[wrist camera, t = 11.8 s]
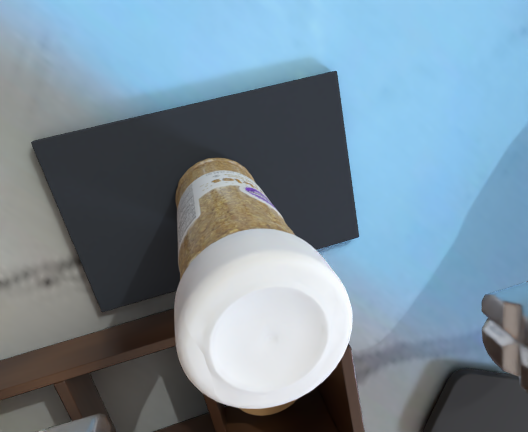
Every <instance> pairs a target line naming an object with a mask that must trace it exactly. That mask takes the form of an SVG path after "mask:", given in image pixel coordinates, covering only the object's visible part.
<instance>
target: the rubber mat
mask: <svg viewBox="0 0 528 432" xmlns="http://www.w3.org/2000/svg"><path fill="white" fill-rule="evenodd" d="M31 144H32V146H33V149H34V151H35V153H36V156H37V158H38V160H39V163H40V165H41V168H42V170H43V172H44V175H45V177H46V180H47V182H48V184H49V187H50V189H51V192H52V194H53V196H54V199H55V201H56V204H57V206H58V208H59V211H60V213H61V215H62V218H63V220H64V223H65V225H66V227H67V230H68V232H69V235H70V237H71V239H72V242H73V244H74V247H75V249H76V251H77V254H78V256H79V258H80V261H81V263H82V266H83V268H84V270H85V273H86V275H87V278H88V280H89V282H90V285H91V287H92V290H93V292H94V294H95V297H96V299H97V301H98V304H99V306H100V309H101V311H102V312H105V311H108V310H112V309H115V308H118V307H122V306H125V305H129V304H132V303H136V302H139V301H142V300H146V299H149V298H153V297H156V296H159V295H163V294H166V293H170V292H173V291H176V290H177V288H178V285H179V282H180V271H179V265H178V233H177V206H176V190H177V187H178V184H179V180H180V179H181V178H182V176H183V175H184V174H185V173H186V171H187V170H188V169H189V168H190V167H192V166H193V165H195V164H196V163H198V162H200V161H203V160H205V159H208V158H225V159H229V160H232V161H235V162H237V163H239V164H240V165H242V166H243V167H245V168H246V169H247V171H248V172H249V173H250V174H251V176H252V177H253V179H254V181H255V183H256V184H257V185H258V186H259V187H260V189H261V190H262V191H263V192H264V194H265V195H266V196H267V198H268V199H269V200H270V202H271V203H272V204H273V206H274V207H275V208H276V209H277V211H278V212H279V213H280V214H281V216H282V217H283V219H284V221H285V223H286V224H287V226H288V227H289V228H290V229H291V230H292V231H293V233H294V234H295V236H297V237H299V238H301V239H303V240H304V241H306V242H307V243H308V244H310V245H311V246H312V247H313V248H314V249H315V250H316V249H320V248H323V247H327V246H330V245H333V244H337V243H340V242H344V241H347V240H351V239H354V238H357V237H359V232H358V225H357V217H356V210H355V202H354V195H353V187H352V180H351V173H350V165H349V158H348V150H347V143H346V135H345V128H344V121H343V113H342V106H341V98H340V91H339V83H338V76H337V71H332V72H328V73H324V74H319V75H315V76H311V77H306V78H302V79H298V80H293V81H289V82H285V83H280V84H276V85H272V86H268V87H263V88H259V89H255V90H250V91H246V92H242V93H237V94H233V95H229V96H224V97H220V98H216V99H211V100H207V101H203V102H198V103H194V104H190V105H186V106H181V107H177V108H173V109H168V110H164V111H160V112H155V113H151V114H147V115H142V116H138V117H134V118H129V119H125V120H121V121H116V122H112V123H108V124H103V125H99V126H95V127H91V128H86V129H82V130H78V131H73V132H69V133H65V134H60V135H56V136H52V137H47V138H43V139H39V140H35V141H32V142H31Z"/></svg>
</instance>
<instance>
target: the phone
mask: <svg viewBox="0 0 528 432" xmlns="http://www.w3.org/2000/svg"><path fill="white" fill-rule="evenodd" d="M423 432H528V393H527V392H526V391H525V390H524V389H523V388H521V386H520V381H519V377H518V376H516V375H512V374H505V373H498V372H491V371H484V370H477V369H469V368H463V369H459V370H457V371H455V372H454V373H453V374H452V375H451V376H450V378H449V379H448V381H447V383H446V385H445V387H444V389H443V391H442V393H441V395H440V397H439V399H438V401H437V403H436V405H435V407H434V409H433V411H432V413H431V415H430V417H429V419H428V422H427V424H426V426H425V428H424V430H423Z"/></svg>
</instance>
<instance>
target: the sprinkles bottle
mask: <svg viewBox="0 0 528 432" xmlns="http://www.w3.org/2000/svg"><path fill="white" fill-rule="evenodd" d="M176 206H177V233H178V265H179V271H180V282H179V285H178V288H177V292H176V296H175V305H174V324H175V342H176V350H177V354H178V358H179V361H180V364H181V366H182V369H183V371H184V372H185V374H186V375H187V377H188V379H189V380H190V381H191V382H192V383H193V385H194V386H195V387H196V388H197V389H198V390H200V391H201V392H202V393H203V394H205V395H206V396H208V397H209V398H211V399H213V400H215V401H217V402H219V403H222V404H225V405H228V406H232V407H236V408H245V409H263V408H269V407H275V406H279V405H282V404H286V403H288V402H291V401H293V400H296V399H298V398H300V397H302V396H303V395H305V394H307V393H309V392H310V391H311V390H313V389H314V388H316V387H317V386H318V385H319V384H321V383H322V382H323V381H324V380H325V379H326V378H327V377H328V376H329V375H330V374H331V373H332V371H333V370H334V369H335V368H336V366H337V365H338V363H339V362H340V360H341V358H342V357H343V355H344V353H345V350H346V348H347V346H348V343H349V340H350V335H351V330H352V308H351V304H350V300H349V297H348V294H347V292H346V289H345V287H344V285H343V284H342V282H341V280H340V279H339V278H338V276H337V275H336V274H335V272H334V271H333V270H332V268H331V267H330V266H329V264H328V263H327V262H326V261H325V260H324V258H323V257H322V256H321V255H320V254H319V253H318V252H317V251H316V250H315V249H314V248H313V247H312V246H311V245H310V244H308V243H307V242H306V241H304V240H303V239H301V238H299V237H297V236H295V234H294V233H293V231H292V230H291V229H290V228H289V227H288V226H287V224H286V223H285V221H284V219H283V217H282V216H281V214H280V213H279V212H278V211H277V209H276V208H275V207H274V206H273V204H272V203H271V202H270V200H269V199H268V198H267V196H266V195H265V194H264V192H263V191H262V190H261V189H260V187H259V186H258V185H257V184H256V183H255V181H254V179H253V177H252V176H251V174H250V173H249V172H248V171H247V169H246V168H245V167H243V166H242V165H240V164H239V163H237V162H235V161H232V160H229V159H225V158H208V159H205V160H203V161H200V162H198V163H196V164H195V165H193V166H192V167H190V168H189V169H188V170H187V171H186V173H185V174H184V175H183V176H182V178H181V179H180V180H179V184H178V187H177V190H176Z"/></svg>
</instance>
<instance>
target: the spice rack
mask: <svg viewBox="0 0 528 432" xmlns="http://www.w3.org/2000/svg"><path fill="white" fill-rule="evenodd" d="M173 346H176V342H175V324H174V309H171V310H168V311H164V312H161V313H158V314H154V315H151V316H148V317H144V318H141V319H138V320H134V321H131V322H128V323H124V324H121V325H118V326H114V327H111V328H108V329H104V330H101V331H97V332H94V333H91V334H87V335H84V336H81V337H77V338H74V339H71V340H67V341H64V342H61V343H57V344H54V345H51V346H47V347H44V348H41V349H37V350H34V351H31V352H27V353H24V354H21V355H17V356H14V357H10V358H7V359H4V360H0V400H3V399H6V398H9V397H13V396H16V395H19V394H22V393H26V392H29V391H32V390H35V389H38V388H42V387H45V386H48V385H51V384H54V387H55V388H56V390H57V392H58V394H59V396H60V398H61V400H62V402H63V404H64V406H65V408H66V410H67V412H68V414H69V416H70V418H71V420H72V421H74V420H78V419H82V418H85V417H89V416H92V415H96V414H99V413H100V414H104V415H106V417H107V419H108V421H109V423H110V425H111V427H112V428H111V432H116V430H115V428H114V426H113V424H112V422H111V420H110V417H109V415H108V413H107V411H106V409H105V407H104V404H103V402H102V400H101V398H100V396H99V394H98V391H97V389H96V387H95V385H94V383H93V381H92V378H91V376H90V374H89V373H90V372H93V371H96V370H99V369H103V368H106V367H109V366H112V365H115V364H119V363H122V362H125V361H128V360H131V359H135V358H138V357H141V356H144V355H148V354H151V353H154V352H157V351H160V350H164V349H167V348H170V347H173ZM203 396H204V399H205V402H206V405H207V408H208V411H209V413H207V414H204V415H201V416H198V417H195V418H192V419H189V420H186V421H183V422H180V423H177V424H174V425H171V426H169V427H166V428H163V429H160V430H157V431H154V432H365V430H364V424H363V418H362V412H361V405H360V399H359V393H358V387H357V380H356V374H355V368H354V361H353V355H352V349H351V347H350V345H349V344H348V346H347V348H346V350H345V353H344V355H343V357H342V358H341V360H340V362H339V363H338V365H337V366H336V368H335V369H334V370H333V371H332V373H331V374H330V375H329V376H328V377H327V378H326V379H325V380H324V381H323V382H322V383H321V384H319V385H318V386H317V387H316V388H314V389H313V390H311V391H310V392H309V393H307V394H305V395H303V396H302V397H300V398H298V399H297V400H296V401H295V402H294V403H293V404H292V405H291V406H289V407H288V408H286V409H284V410H283V411H280V412H278V413H275V414H271V415H265V416H257V415H252V414H248V413H246V412H244V411H242V410H241V409H239V408H236V407H232V406H228V407H225V408H224V405H223V404H222V403H219V402H217V401H215V400H213V399H211V398H209V397H208V396H206V395H205V394H203Z"/></svg>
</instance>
